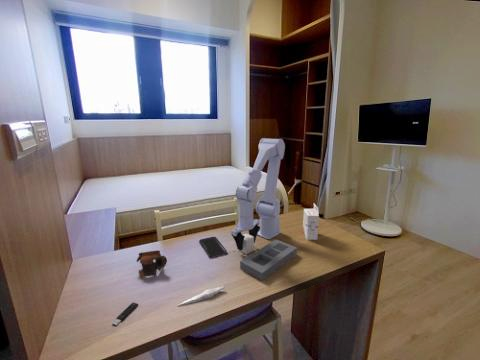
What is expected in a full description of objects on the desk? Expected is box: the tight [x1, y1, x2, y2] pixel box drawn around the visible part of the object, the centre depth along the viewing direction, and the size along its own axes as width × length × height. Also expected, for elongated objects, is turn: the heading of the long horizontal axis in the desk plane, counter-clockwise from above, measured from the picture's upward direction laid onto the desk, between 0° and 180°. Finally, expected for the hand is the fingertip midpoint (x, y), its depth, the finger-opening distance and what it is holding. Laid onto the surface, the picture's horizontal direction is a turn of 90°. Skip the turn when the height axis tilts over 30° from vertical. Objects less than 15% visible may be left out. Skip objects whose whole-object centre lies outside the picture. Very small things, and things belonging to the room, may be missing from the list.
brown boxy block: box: [136, 250, 168, 278], centre depth 88 cm, size 12×10×8 cm
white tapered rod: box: [177, 285, 225, 307], centre depth 74 cm, size 15×3×2 cm, turn 117°
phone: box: [198, 236, 228, 259], centre depth 102 cm, size 8×1×15 cm
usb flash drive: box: [111, 301, 139, 327], centre depth 68 cm, size 8×2×1 cm, turn 161°
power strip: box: [239, 239, 298, 281], centre depth 92 cm, size 22×10×3 cm, turn 136°
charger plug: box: [238, 233, 255, 255], centre depth 99 cm, size 4×4×6 cm
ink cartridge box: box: [302, 202, 320, 241], centre depth 110 cm, size 9×5×15 cm, turn 179°
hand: (246, 245), depth 100 cm, fingers open, 7 cm apart
